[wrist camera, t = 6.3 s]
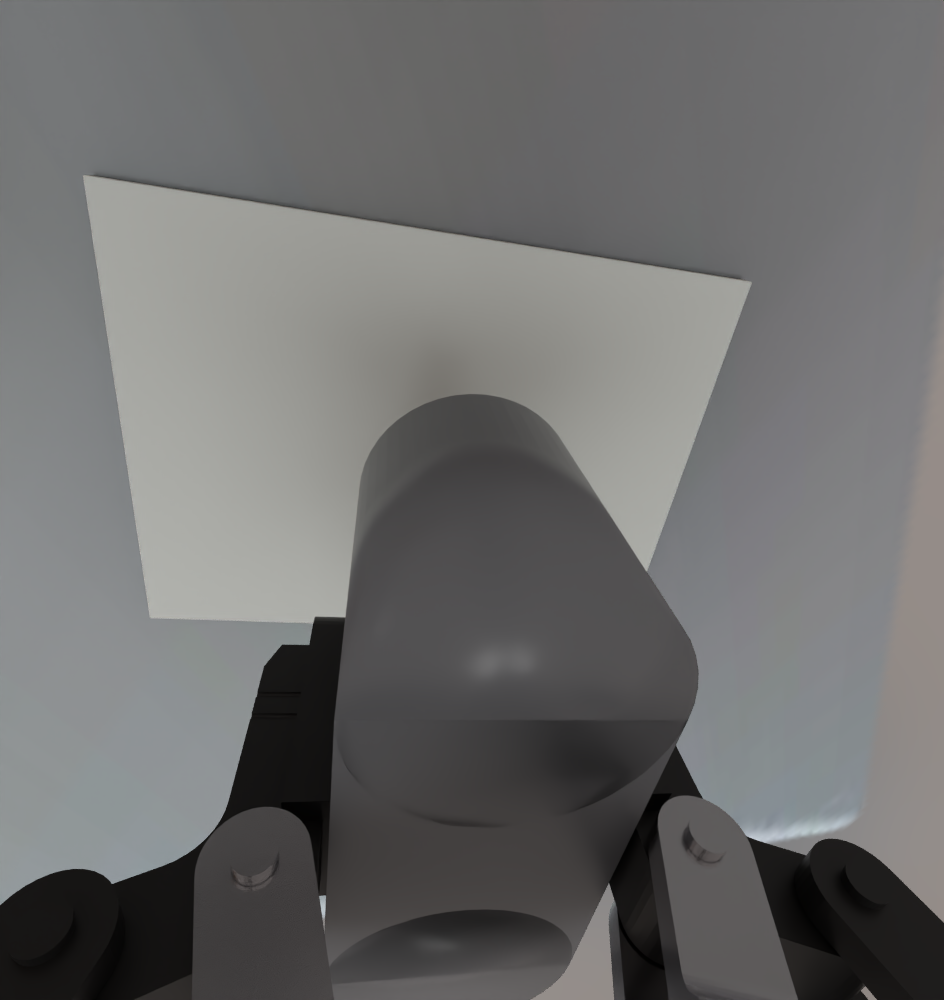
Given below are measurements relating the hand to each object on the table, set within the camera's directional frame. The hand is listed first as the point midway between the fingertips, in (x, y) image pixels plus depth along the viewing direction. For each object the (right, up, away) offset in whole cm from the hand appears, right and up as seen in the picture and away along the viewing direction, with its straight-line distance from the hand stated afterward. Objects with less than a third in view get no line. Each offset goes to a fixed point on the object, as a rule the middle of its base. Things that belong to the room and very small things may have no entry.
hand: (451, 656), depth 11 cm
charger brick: (0, +1, +1) cm, 1 cm away
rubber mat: (-1, +5, +11) cm, 12 cm away
